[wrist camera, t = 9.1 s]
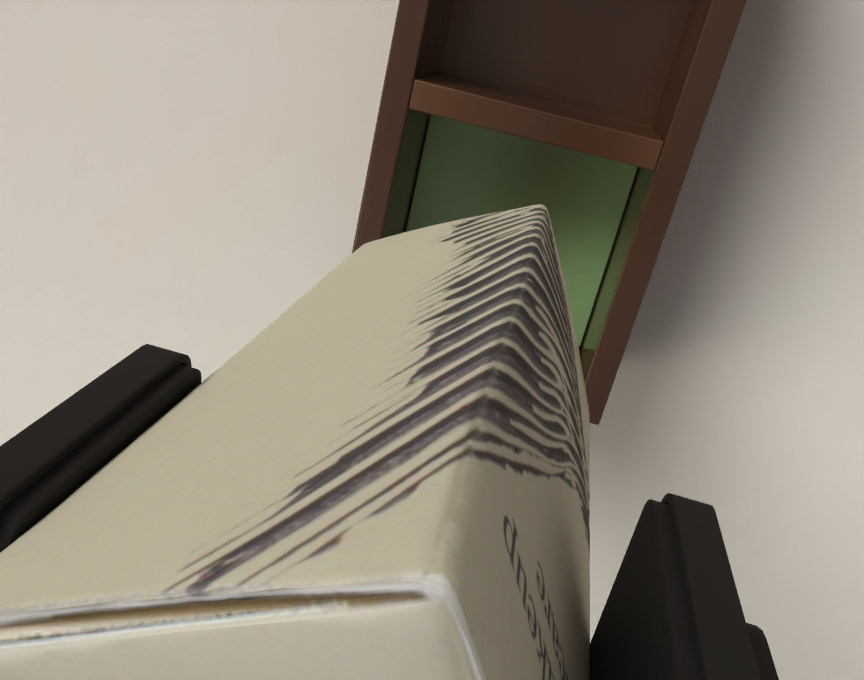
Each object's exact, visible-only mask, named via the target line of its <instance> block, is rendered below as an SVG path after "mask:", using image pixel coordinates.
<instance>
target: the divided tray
mask: <svg viewBox="0 0 864 680" xmlns="http://www.w3.org/2000/svg"><path fill="white" fill-rule="evenodd" d="M746 1H747V0H400V1H399V6H398V11H397V17H396V22H395V27H394V33H393V38H392V43H391V49H390V54H389V59H388V64H387V70H386V75H385V80H384V86H383V91H382V96H381V102H380V107H379V112H378V118H377V123H376V128H375V134H374V139H373V144H372V150H371V155H370V160H369V165H368V171H367V176H366V181H365V187H364V192H363V197H362V203H361V208H360V213H359V219H358V224H357V229H356V235H355V240H354V245H353V251H352V254H353V253H354V252H355V251H356V250H357V249H358V248H360V247H361V246H362V245H363V244H365V243H368V242H371V241H375V240H378V239H382V238H386V237H389V236H393V235H397V234H400V233H404V232H408V231H412V230H416V229H420V228H424V227H428V226H432V225H437V224H441V223H446V222H451V221H455V220H460V219H465V218H471V217H476V216H480V215H485V214H490V213H496V212H501V211H507V210H512V209H517V208H522V207H527V206H532V205H539V204H541V205H544V206H545V207H546V208H547V210H548V213H549V216H550V220H551V224H552V229H553V233H554V237H555V241H556V246H557V250H558V254H559V259H560V263H561V267H562V271H563V275H564V279H565V283H566V288H567V292H568V297H569V302H570V307H571V312H572V317H573V322H574V327H575V333H576V338H577V344H578V349H579V354H580V360H581V365H582V371H583V377H584V383H585V389H586V395H587V400H588V406H589V422H590V423H593V424H597V425H598V424H599V423H600V420H601V417H602V414H603V411H604V409H605V406H606V403H607V400H608V397H609V394H610V391H611V388H612V386H613V383H614V380H615V377H616V374H617V371H618V368H619V365H620V363H621V360H622V357H623V354H624V351H625V348H626V345H627V342H628V340H629V337H630V334H631V331H632V328H633V325H634V322H635V319H636V317H637V314H638V311H639V308H640V305H641V302H642V299H643V297H644V294H645V291H646V288H647V285H648V282H649V279H650V276H651V274H652V271H653V268H654V265H655V262H656V259H657V256H658V253H659V251H660V248H661V245H662V242H663V239H664V236H665V233H666V230H667V228H668V225H669V222H670V219H671V216H672V213H673V210H674V207H675V205H676V202H677V199H678V196H679V193H680V190H681V187H682V185H683V182H684V179H685V176H686V173H687V170H688V167H689V164H690V162H691V159H692V156H693V153H694V150H695V147H696V144H697V141H698V139H699V136H700V133H701V130H702V127H703V124H704V121H705V118H706V116H707V113H708V110H709V107H710V104H711V101H712V98H713V95H714V93H715V90H716V87H717V84H718V81H719V78H720V75H721V73H722V70H723V67H724V64H725V61H726V58H727V55H728V52H729V50H730V47H731V44H732V41H733V38H734V35H735V32H736V29H737V27H738V24H739V21H740V18H741V15H742V12H743V9H744V6H745V4H746Z"/></svg>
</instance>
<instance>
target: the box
mask: <svg viewBox="0 0 864 680" xmlns="http://www.w3.org/2000/svg"><path fill="white" fill-rule="evenodd" d="M589 558H590V531H589V406H588V400H587V395H586V389H585V383H584V377H583V371H582V365H581V360H580V354H579V349H578V344H577V338H576V333H575V327H574V322H573V317H572V312H571V307H570V302H569V297H568V292H567V288H566V283H565V279H564V275H563V271H562V267H561V263H560V259H559V254H558V250H557V246H556V241H555V237H554V233H553V229H552V224H551V220H550V216H549V213H548V210H547V208H546V207H545V206H544V205H541V204H539V205H532V206H527V207H522V208H517V209H512V210H507V211H501V212H496V213H490V214H485V215H480V216H476V217H471V218H465V219H460V220H455V221H451V222H446V223H441V224H437V225H432V226H428V227H424V228H420V229H416V230H412V231H408V232H404V233H400V234H397V235H393V236H389V237H386V238H382V239H378V240H375V241H371V242H368V243H365V244H363V245H362V246H361V247H360V248H358V249H357V250H356V251H355V252H354V253H353V254H351V255H350V256H349V257H348V258H347V259H346V260H344V261H343V262H342V263H341V264H340V265H339V266H337V267H336V268H335V269H334V270H333V271H332V272H330V273H329V274H328V275H327V276H326V277H325V278H324V279H323V280H321V281H320V282H319V283H318V284H317V285H316V286H314V287H313V288H312V289H311V290H310V291H308V292H307V293H306V294H305V295H304V296H303V297H302V298H300V299H299V300H298V301H297V302H296V303H295V304H294V305H293V306H291V307H290V308H289V309H288V310H287V311H286V312H285V313H283V314H282V315H281V316H280V317H279V318H278V319H276V320H275V321H274V322H273V323H272V324H271V325H269V326H268V327H267V328H266V329H265V330H263V331H262V332H261V333H260V334H259V335H258V336H256V337H255V338H254V339H253V340H252V341H251V342H249V343H248V344H247V345H246V346H245V347H243V348H242V349H241V350H240V351H239V352H238V353H236V354H235V355H234V356H233V357H232V358H231V359H230V360H228V361H227V362H226V363H225V364H224V365H223V366H222V367H220V368H219V369H218V370H217V371H215V372H214V373H213V374H212V375H210V376H209V377H208V378H207V379H206V380H204V381H203V382H202V383H201V384H200V385H198V386H197V387H196V388H195V389H194V390H193V391H191V392H190V393H189V394H188V395H187V396H186V397H185V398H184V399H183V400H182V401H180V402H179V403H178V404H177V405H176V406H175V407H173V408H172V409H171V410H170V411H169V412H168V413H166V414H165V415H164V416H163V417H162V418H160V419H159V420H158V421H157V422H156V423H154V424H153V425H152V426H151V427H149V428H148V429H147V430H146V431H145V432H144V433H142V434H141V435H140V436H139V437H138V438H137V439H136V440H135V441H133V442H132V443H131V444H130V445H129V446H128V447H126V448H125V449H124V450H123V451H122V452H121V453H119V454H118V455H117V456H116V457H115V458H113V459H112V460H111V461H110V462H109V463H107V464H106V465H105V466H104V467H103V468H101V469H100V470H99V471H98V472H97V473H96V474H94V475H93V476H92V477H91V478H90V479H89V480H87V481H86V482H85V483H84V484H83V485H82V486H81V487H79V488H78V489H77V490H76V491H75V492H74V493H72V494H71V495H70V496H69V497H68V498H67V499H65V500H64V501H63V502H62V503H61V504H60V505H58V506H57V507H56V508H55V509H54V510H53V511H51V512H50V513H49V514H48V515H46V516H45V517H44V518H43V519H41V520H40V521H39V522H38V523H37V524H35V525H34V526H33V527H32V528H30V529H29V530H28V531H27V532H26V533H24V534H23V535H22V536H21V537H19V538H18V539H17V540H16V541H14V542H13V543H12V544H11V545H9V546H8V547H7V548H6V549H4V550H3V551H2V552H1V553H0V680H590V575H589Z"/></svg>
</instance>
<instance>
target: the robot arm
mask: <svg viewBox="0 0 864 680" xmlns="http://www.w3.org/2000/svg"><path fill="white" fill-rule="evenodd" d="M200 384H201V372H200V371H199V370H198V369H195V368H191V360H190V358H189V356H188V355H184V354H181V353H177V352H174V351H170V350H167V349H163V348H160V347H156V346H153V345H149V344H146V345H144V346H141V347H140V348H139V349H137V350H136V351H134V352H133V353H132V354H130V355H129V356H127V357H126V358H125V359H123V360H122V361H120V362H119V363H117V364H116V365H115V366H113V367H112V368H110V369H109V370H108V371H106V372H105V373H103V374H102V375H100V376H99V377H98V378H96V379H95V380H93V381H92V382H91V383H89V384H88V385H86V386H85V387H84V388H82V389H81V390H79V391H78V392H76V393H75V394H74V395H72V396H71V397H69V398H68V399H67V400H65V401H64V402H62V403H61V404H59V405H58V406H57V407H55V408H54V409H52V410H51V411H50V412H48V413H47V414H45V415H44V416H43V417H41V418H40V419H38V420H37V421H35V422H34V423H33V424H31V425H30V426H28V427H27V428H26V429H24V430H23V431H21V432H20V433H18V434H17V435H16V436H14V437H13V438H11V439H10V440H9V441H7V442H6V443H4V444H3V445H2V446H0V553H1V552H2V551H3V550H4V549H6V548H7V547H8V546H9V545H11V544H12V543H13V542H14V541H16V540H17V539H18V538H19V537H21V536H22V535H23V534H24V533H26V532H27V531H28V530H29V529H30V528H32V527H33V526H34V525H35V524H37V523H38V522H39V521H40V520H41V519H43V518H44V517H45V516H46V515H48V514H49V513H50V512H51V511H53V510H54V509H55V508H56V507H57V506H58V505H60V504H61V503H62V502H63V501H64V500H65V499H67V498H68V497H69V496H70V495H71V494H72V493H74V492H75V491H76V490H77V489H78V488H79V487H81V486H82V485H83V484H84V483H85V482H86V481H87V480H89V479H90V478H91V477H92V476H93V475H94V474H96V473H97V472H98V471H99V470H100V469H101V468H103V467H104V466H105V465H106V464H107V463H109V462H110V461H111V460H112V459H113V458H115V457H116V456H117V455H118V454H119V453H121V452H122V451H123V450H124V449H125V448H126V447H128V446H129V445H130V444H131V443H132V442H133V441H135V440H136V439H137V438H138V437H139V436H140V435H141V434H142V433H144V432H145V431H146V430H147V429H148V428H149V427H151V426H152V425H153V424H154V423H156V422H157V421H158V420H159V419H160V418H162V417H163V416H164V415H165V414H166V413H168V412H169V411H170V410H171V409H172V408H173V407H175V406H176V405H177V404H178V403H179V402H180V401H182V400H183V399H184V398H185V397H186V396H187V395H188V394H189V393H190V392H191V391H193V390H194V389H195V388H196V387H197V386H198V385H200ZM590 680H779V679H778V676H777V672H776V669H775V666H774V662H773V659H772V656H771V652H770V649H769V646H768V643H767V640H766V637H765V635H764V633H763V631H762V630H761V629H760V628H758V627H757V626H755V625H752V624H748V623H746V622H745V618H744V615H743V611H742V607H741V604H740V600H739V596H738V593H737V589H736V586H735V582H734V578H733V575H732V571H731V567H730V564H729V560H728V556H727V553H726V549H725V545H724V542H723V538H722V534H721V531H720V527H719V524H718V520H717V516H716V513H715V510H714V508H713V506H711V505H708V504H705V503H702V502H698V501H695V500H691V499H688V498H684V497H681V496H677V495H674V494H670V493H668V494H666V495H665V496H664V498H663V499H662V501H661V502H657V501H654V500H651V499H650V500H648V501H647V503H646V504H645V506H644V508H643V510H642V513H641V516H640V518H639V521H638V523H637V526H636V528H635V531H634V533H633V536H632V538H631V541H630V544H629V546H628V549H627V551H626V554H625V556H624V559H623V561H622V564H621V566H620V569H619V572H618V574H617V577H616V579H615V582H614V584H613V587H612V589H611V592H610V595H609V597H608V600H607V602H606V605H605V607H604V610H603V612H602V615H601V617H600V620H599V623H598V625H597V628H596V630H595V633H594V635H593V638H592V640H591V643H590Z"/></svg>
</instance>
